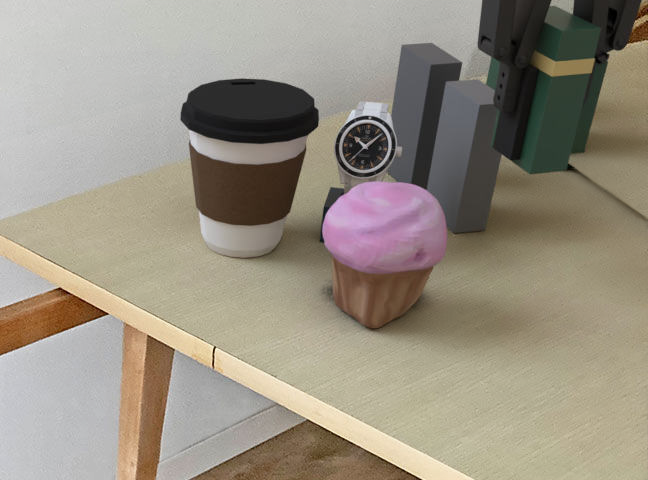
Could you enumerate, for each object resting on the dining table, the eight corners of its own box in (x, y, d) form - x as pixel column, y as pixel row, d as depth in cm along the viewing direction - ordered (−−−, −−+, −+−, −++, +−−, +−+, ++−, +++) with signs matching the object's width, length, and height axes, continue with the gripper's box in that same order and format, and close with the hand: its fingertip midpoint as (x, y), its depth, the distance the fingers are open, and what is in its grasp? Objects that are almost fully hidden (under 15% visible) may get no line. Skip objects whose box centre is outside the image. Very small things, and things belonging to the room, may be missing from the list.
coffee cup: (169, 216, 95) (173, 77, 88) (291, 213, 96) (305, 74, 88) (184, 273, 87) (189, 124, 79) (318, 269, 87) (335, 121, 80)
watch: (316, 251, 90) (331, 119, 83) (329, 213, 96) (344, 87, 89) (383, 259, 89) (405, 126, 82) (392, 220, 95) (413, 93, 88)
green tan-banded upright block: (567, 171, 79) (602, 27, 73) (529, 175, 79) (561, 31, 73) (525, 142, 84) (555, 5, 78) (489, 145, 83) (516, 7, 77)
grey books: (485, 230, 94) (514, 95, 86) (453, 233, 93) (481, 98, 86) (411, 166, 105) (432, 42, 98) (382, 168, 104) (401, 44, 97)
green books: (580, 167, 105) (608, 61, 99) (552, 170, 104) (579, 63, 98) (504, 115, 116) (525, 17, 110) (478, 118, 116) (498, 19, 110)
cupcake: (292, 301, 83) (305, 175, 77) (380, 276, 87) (400, 154, 80) (364, 353, 77) (385, 221, 71) (456, 324, 81) (484, 196, 74)
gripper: (688, -233, 71) (596, 124, 85) (463, -226, 68) (408, 143, 82) (766, -222, 65) (653, 159, 80) (523, -214, 62) (453, 180, 77)
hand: (529, 150), depth 81 cm, fingers closed on green tan-banded upright block, 3 cm apart
